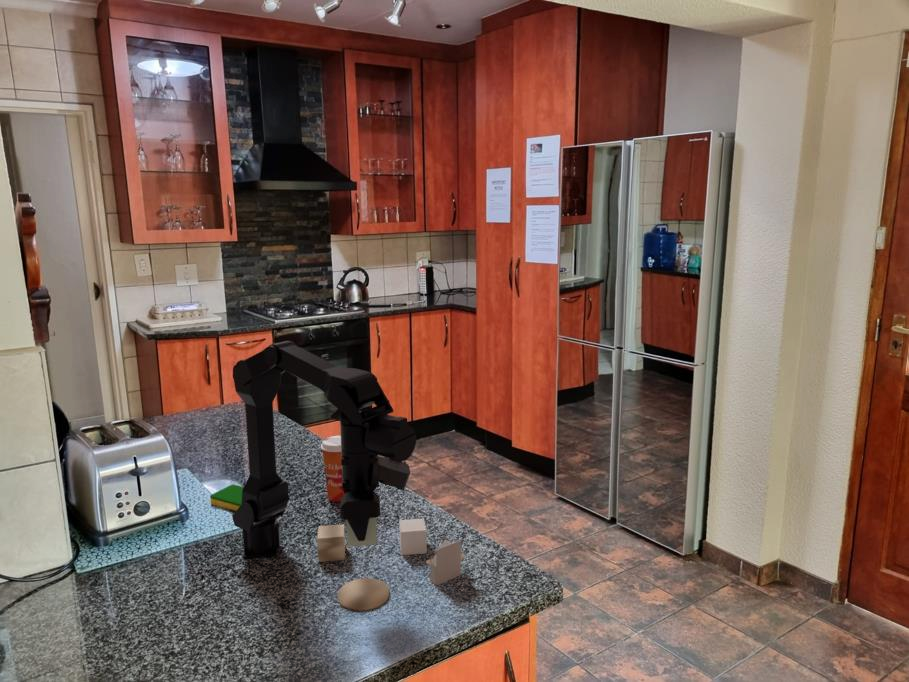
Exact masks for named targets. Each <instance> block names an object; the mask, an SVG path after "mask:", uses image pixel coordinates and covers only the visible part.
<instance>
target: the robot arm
mask: <svg viewBox="0 0 909 682" xmlns="http://www.w3.org/2000/svg"><path fill="white" fill-rule="evenodd" d="M285 372H287V373H289V374H290V375H293V376H294V377H296V378H298V379H300V380H302V381H304V382H306V383H307V384H309V385H311V386H313V387H315V388H316V389H319V390H321V391H322V393H324V395H325V398H326V400H327V401H328V403H330V404H331V405H332V406H334V408H336V410H335V411H334V412H333V413H331V414H330V419H331V420H333V421H334V420H335V421H338V422H339V424H340V425H339V426H340V429H339V430H340V436H341V465H342V488H343V491H344V496H343V497H342V498H341V502H339V504H340V506H339V508H340V509H339V512H340V520H344V521H346V520H347V521H348V523H349V525H350V526H351V528H352V530H353V532H354V534H355V536H356V537H357V539H358V541H364V540H365V537H366V532H367V527H368V523H369V518H376V519H378V517H381V503H380V495H379V494H377V492H375V490H376V489H377V488H379V487H380V486H379V485H380V484H381V485H386V486H388V487H392V488H396V490H398V491H404V490H405V488H406V485H407V483H408V480H409V477H410V476H411V469H410V468H411V467H410V465H409V464H408V463H407V460H409V458H410V457H411V456H412V455H413V452H414V451H415V448H416V444H417V434H415V433H416V432H415V430H414V428H413V427H412V426H411V425H409V424H408V418H407V417H404V416H394V415H391V414H393V413H394V408H393V407H392V405H391V403H390V401H389V399H388V398H387V395H386V394H385V392H384V390H383V388H382V387H381V384H380V383H379V381H378V377H377V375H375V374H373V373H372V372H370V371H367V370H364V369H358V368H356V367H355V368H353V367H342V366H338V365H336V364H334V363H332V362H329V361H328V360H326V359H324V358H323V357H320V356H318V355H316V354H314V353H312V352H310V351H307V350H305V349H304V348H302V347H299V346H298V345H297V344H296V343H295V342H293V341H291V340H285V341H281V342H275V343H271V344H270V345H268V346H266V347H264V349H262V350H261V351H259V352H257V353H256V354H253V355H252V356H250V357H248V358H245V359H240V360H238V361H237V362H236V363H235V365H233V367H232V378H233V379H232V380H233V382H234V383H233V384H234V389H235V392H236V394H237V396H239V398H240V399H241V401H242V402H243V403H244V405H245V407H244V408H245V421H246V435H247V437H246V439H247V451H248V452H247V453H248V466H249V467H248V468H249V470H248V471H249V475H248V478H247V480H246V482H245V484H244V486H243V487H244V488H243V490H242V503H241V504H242V505H241V506H240V507H239V508H238V509H237V510H236V511H235V510H234V512H233V514H231V516H232V517H231V518H232V520H233V521H232V522H233V524H234V527H237V528H240V529H242V542H243V551H242V555H241V556H242V558H243V559H246V558H247V559H249V558H250V559H251V558H261V557H272V556H276V555H277V553H278V550H279V549H280V547H281V543H282V533H281V532H282V531H281V524H280V522H278V518H280V517H283V516H284V515H285V511H286V508H288V502H289V501H290V500H291V499H290V495H289V482H287V481H284V480H283V479H282V478H281V477H280V475H279V474H278V473H277V460H276V459H277V457H276V441H275V440H276V437H275V424H274V423H275V422H274V421H275V420H274V406H273V405H274V401H275V399H276V396H277V394H278V392H279V390H280V388H281V379H282V375H283V373H285ZM373 405H375V406H373ZM370 406H373V407H370ZM367 407H370V408H368V409H365V410H363V411H361V410H362V409H364V408H367Z"/></svg>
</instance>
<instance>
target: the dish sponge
mask: <svg viewBox="0 0 909 682" xmlns="http://www.w3.org/2000/svg"><path fill="white" fill-rule="evenodd" d="M243 488H244V486H240V485H236V484H234V483H233V484H231V485H228V486H226V487H224V488H222V489H220V490H219V491H217V492H215V493H212V494H210V495H209V496H210V497H209V498H210V505H214V506H217V507H221V508H225V509H228V510H231V511H234V512H235V511H236V510H237V509H238V508H239V507H240V506H241V505H242V504H241V503H242V490H243Z"/></svg>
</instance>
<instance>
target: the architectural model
mask: <svg viewBox="0 0 909 682" xmlns="http://www.w3.org/2000/svg"><path fill="white" fill-rule="evenodd" d="M461 551H462V540H461V539H458V540H455V541H453V542H450V541H448V540H447V539H444V541H443V542H442V544H441V545H440V547H437V549H435V554H434V555H433V556H430V557H429V559H427V560H426V561H425V563H426V564H427V565H429V580H430V582H431V583H432V584H433V585H435V586H439V585H441V584H443V583H446V582H448V581H450V580H452V579H455V578H457V577H459V576H461V575H462V559H465V558H466V555H464V554H463V553H462V552H461Z"/></svg>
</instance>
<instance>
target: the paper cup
mask: <svg viewBox="0 0 909 682" xmlns="http://www.w3.org/2000/svg"><path fill="white" fill-rule="evenodd" d="M320 449H321V451H322V459H323V467H324V468H323V469H324V479H325V487H326V488H325V489H326V494H327V495H326V496H327V499H328V501H331V502H334V503H340V502H341V498H342V497H343V496H344V491H343V488H342V465H341V435H333V436H328V437H326V438H325V439H323V440H322V443H321V445H320Z"/></svg>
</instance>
